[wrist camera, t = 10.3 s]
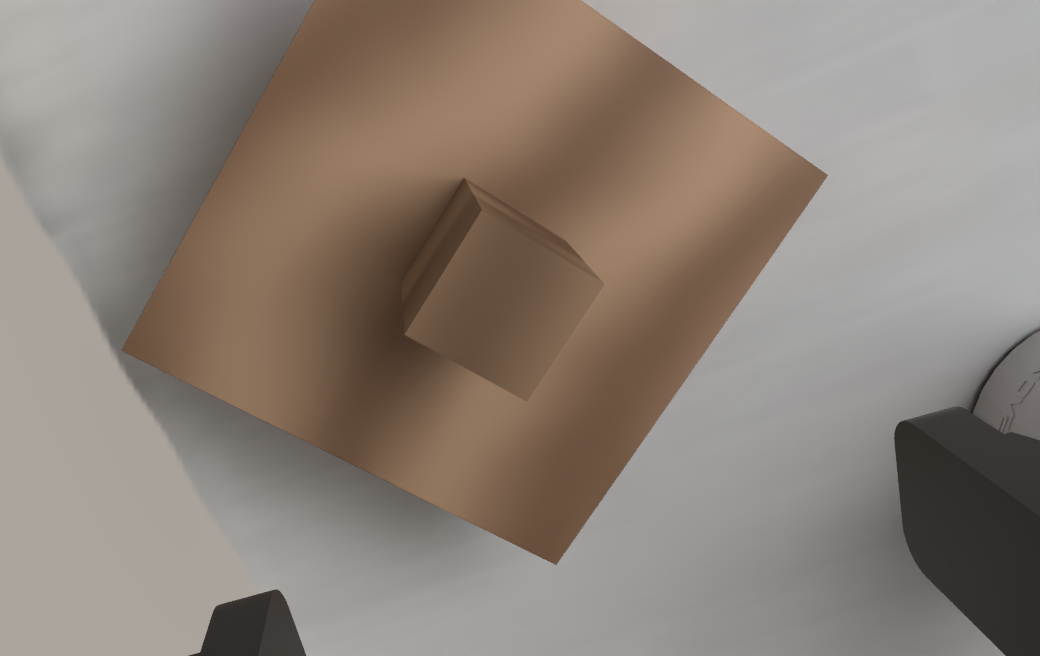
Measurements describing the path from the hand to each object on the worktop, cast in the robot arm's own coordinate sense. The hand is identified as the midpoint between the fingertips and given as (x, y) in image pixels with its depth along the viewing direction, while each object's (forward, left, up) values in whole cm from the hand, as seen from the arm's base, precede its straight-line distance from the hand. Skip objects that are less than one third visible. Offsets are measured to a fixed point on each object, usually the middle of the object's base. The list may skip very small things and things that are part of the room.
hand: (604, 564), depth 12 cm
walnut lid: (0, 0, -17) cm, 17 cm away
